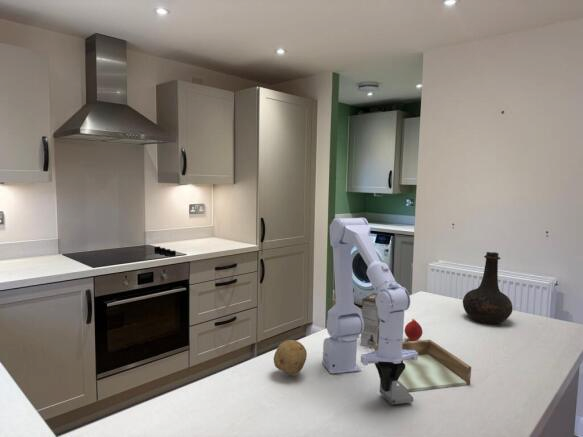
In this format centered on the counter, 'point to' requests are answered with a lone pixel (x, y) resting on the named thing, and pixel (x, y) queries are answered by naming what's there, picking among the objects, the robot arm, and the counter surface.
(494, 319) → the glass bottle
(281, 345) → the potato
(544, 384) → the counter surface
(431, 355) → the arena
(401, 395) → the bracket
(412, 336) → the red round fruit
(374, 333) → the coffee box
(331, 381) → the counter surface
